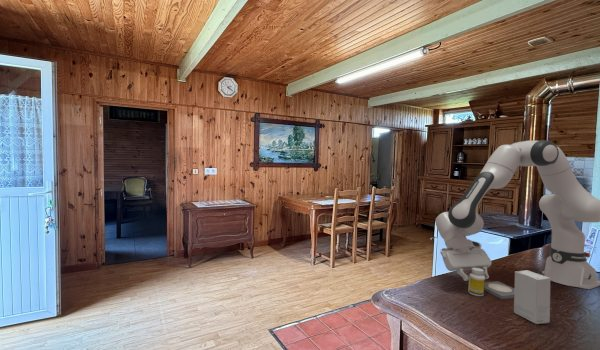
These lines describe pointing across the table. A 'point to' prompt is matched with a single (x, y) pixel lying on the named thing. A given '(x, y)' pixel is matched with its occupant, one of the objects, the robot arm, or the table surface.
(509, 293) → the board
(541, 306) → the skincare box
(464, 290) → the table surface
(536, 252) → the table surface
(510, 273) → the table surface
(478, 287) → the supplement bottle
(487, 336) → the table surface
